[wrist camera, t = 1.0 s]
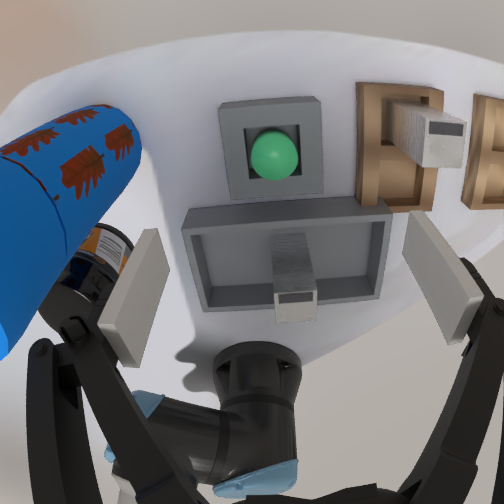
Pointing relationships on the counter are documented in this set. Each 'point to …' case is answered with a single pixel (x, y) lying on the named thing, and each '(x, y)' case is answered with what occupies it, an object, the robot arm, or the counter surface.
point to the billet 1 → (293, 279)
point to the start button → (274, 154)
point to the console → (263, 118)
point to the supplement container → (87, 275)
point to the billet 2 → (423, 132)
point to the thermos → (56, 202)
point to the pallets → (411, 173)
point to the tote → (260, 255)
